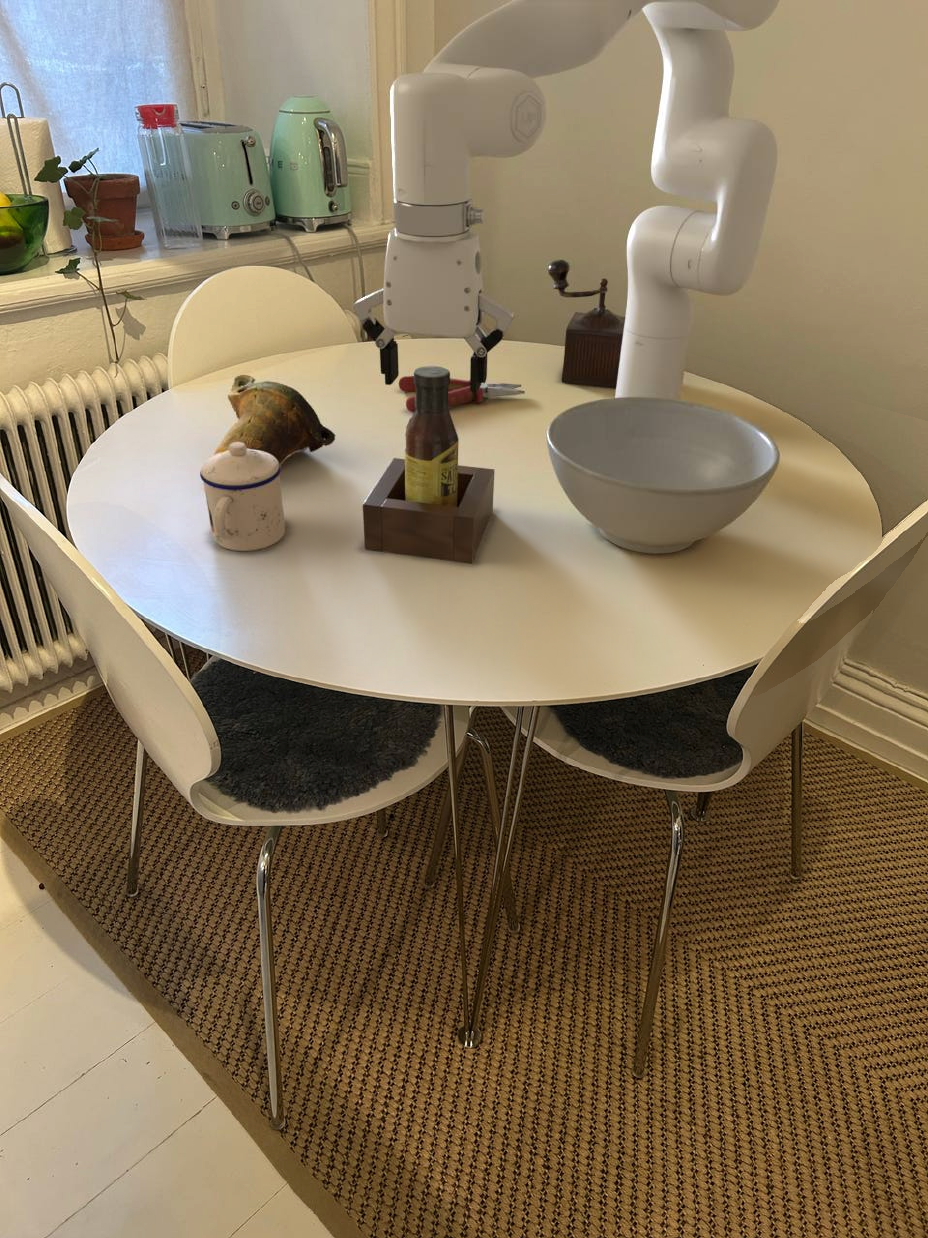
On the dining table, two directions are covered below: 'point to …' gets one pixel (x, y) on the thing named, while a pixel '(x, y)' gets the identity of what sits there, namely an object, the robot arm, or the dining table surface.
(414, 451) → the sauce bottle
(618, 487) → the decorative bowl
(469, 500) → the holder
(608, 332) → the manual coffee grinder
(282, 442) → the pot
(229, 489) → the teacup with lid
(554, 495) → the dining table surface
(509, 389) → the pliers
